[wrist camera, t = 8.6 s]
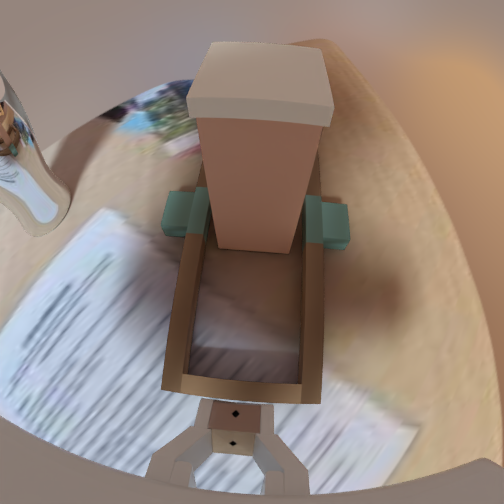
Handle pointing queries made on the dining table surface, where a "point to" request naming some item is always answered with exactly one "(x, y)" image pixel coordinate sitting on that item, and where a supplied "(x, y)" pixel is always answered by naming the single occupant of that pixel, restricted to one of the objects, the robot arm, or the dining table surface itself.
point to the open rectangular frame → (312, 302)
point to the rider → (259, 137)
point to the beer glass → (27, 171)
